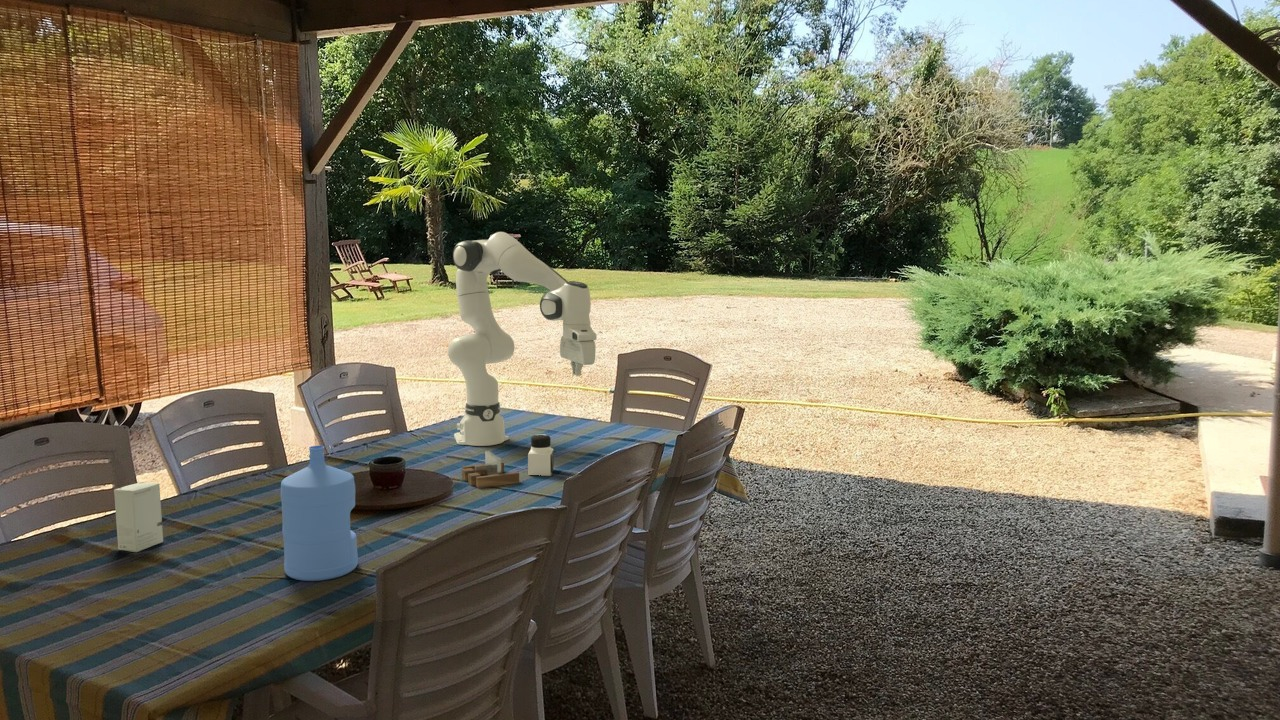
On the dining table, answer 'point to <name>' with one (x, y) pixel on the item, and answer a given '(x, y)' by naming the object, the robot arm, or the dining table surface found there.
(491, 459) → the block
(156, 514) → the skincare box
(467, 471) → the lane
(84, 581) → the dining table surface
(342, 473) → the water jug
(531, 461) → the medicine bottle
